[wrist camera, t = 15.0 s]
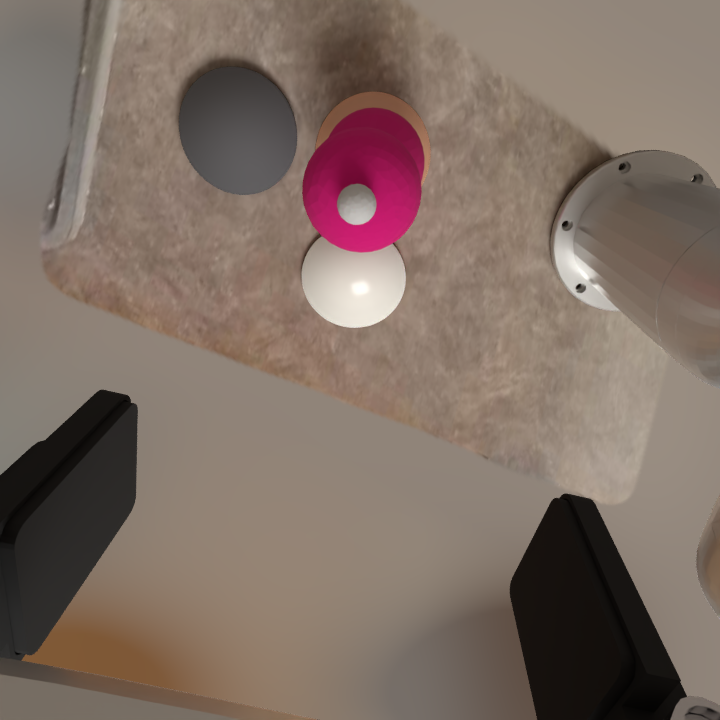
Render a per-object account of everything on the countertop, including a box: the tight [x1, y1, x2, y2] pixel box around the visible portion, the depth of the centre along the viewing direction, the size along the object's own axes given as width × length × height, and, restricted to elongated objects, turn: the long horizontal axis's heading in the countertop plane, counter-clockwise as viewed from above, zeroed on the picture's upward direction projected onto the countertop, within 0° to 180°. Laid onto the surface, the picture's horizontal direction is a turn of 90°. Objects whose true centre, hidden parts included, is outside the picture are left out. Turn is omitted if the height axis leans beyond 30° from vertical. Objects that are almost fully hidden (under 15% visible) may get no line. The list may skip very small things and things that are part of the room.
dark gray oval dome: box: [179, 67, 297, 195], centre depth 40 cm, size 9×9×1 cm
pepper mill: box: [302, 107, 425, 253], centre depth 31 cm, size 7×7×20 cm
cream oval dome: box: [302, 236, 406, 328], centre depth 44 cm, size 9×9×1 cm
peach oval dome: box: [315, 92, 430, 186], centre depth 40 cm, size 9×9×1 cm
